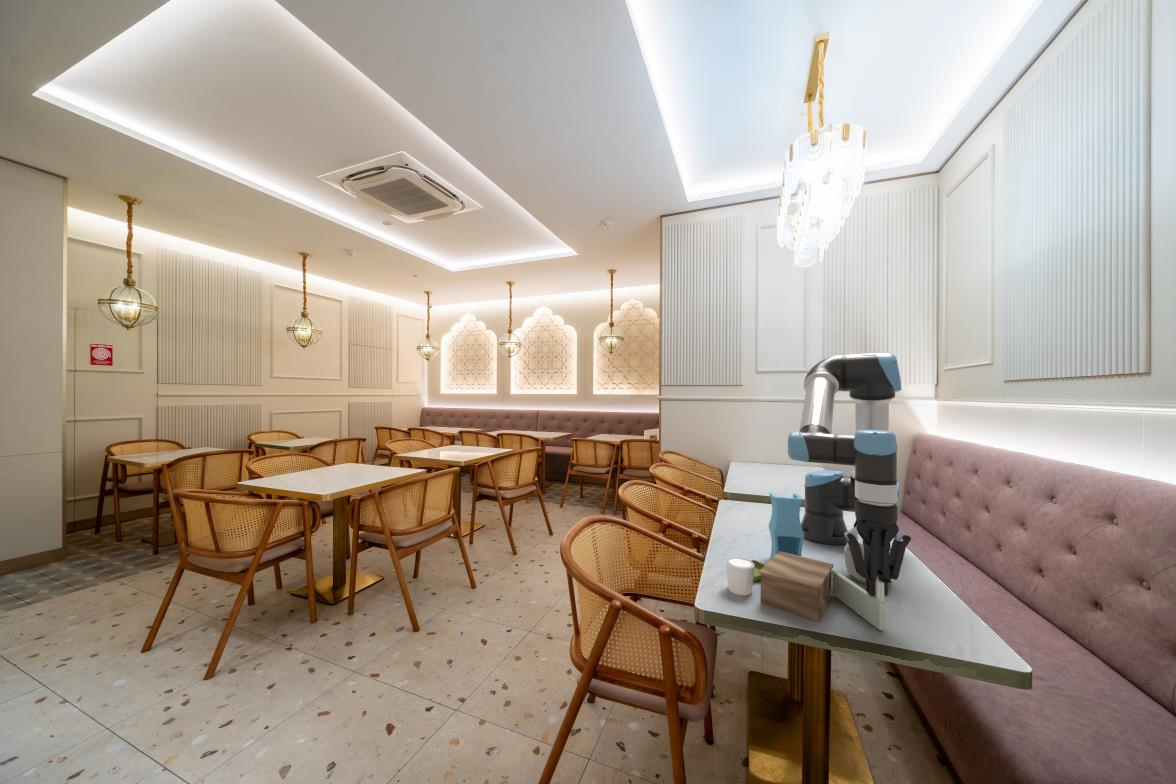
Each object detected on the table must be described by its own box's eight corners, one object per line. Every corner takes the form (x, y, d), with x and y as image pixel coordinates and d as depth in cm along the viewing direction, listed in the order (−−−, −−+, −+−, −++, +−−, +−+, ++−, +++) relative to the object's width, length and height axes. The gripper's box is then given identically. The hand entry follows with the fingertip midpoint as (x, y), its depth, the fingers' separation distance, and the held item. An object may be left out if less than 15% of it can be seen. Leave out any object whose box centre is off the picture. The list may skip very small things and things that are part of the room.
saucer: (730, 571, 112) (730, 563, 112) (754, 566, 115) (754, 559, 115) (753, 584, 104) (753, 576, 104) (778, 579, 107) (778, 571, 107)
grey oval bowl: (902, 591, 100) (902, 560, 100) (854, 587, 102) (854, 556, 102) (874, 568, 113) (874, 540, 114) (832, 565, 116) (832, 537, 116)
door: (831, 592, 98) (831, 570, 98) (836, 592, 98) (836, 570, 98) (879, 630, 82) (879, 603, 82) (885, 630, 82) (885, 603, 82)
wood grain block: (779, 578, 107) (779, 551, 107) (833, 594, 98) (833, 564, 98) (759, 602, 94) (759, 571, 94) (819, 622, 86) (818, 588, 86)
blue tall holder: (796, 558, 120) (796, 493, 120) (804, 569, 112) (804, 499, 113) (768, 556, 122) (768, 491, 122) (774, 566, 114) (774, 497, 115)
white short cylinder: (738, 581, 105) (738, 555, 105) (760, 592, 99) (760, 564, 99) (720, 587, 102) (720, 560, 102) (741, 599, 96) (741, 570, 96)
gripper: (896, 497, 89) (897, 602, 89) (835, 496, 90) (836, 599, 90) (920, 506, 82) (921, 621, 81) (853, 505, 83) (855, 617, 83)
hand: (877, 609), depth 86 cm, fingers closed
